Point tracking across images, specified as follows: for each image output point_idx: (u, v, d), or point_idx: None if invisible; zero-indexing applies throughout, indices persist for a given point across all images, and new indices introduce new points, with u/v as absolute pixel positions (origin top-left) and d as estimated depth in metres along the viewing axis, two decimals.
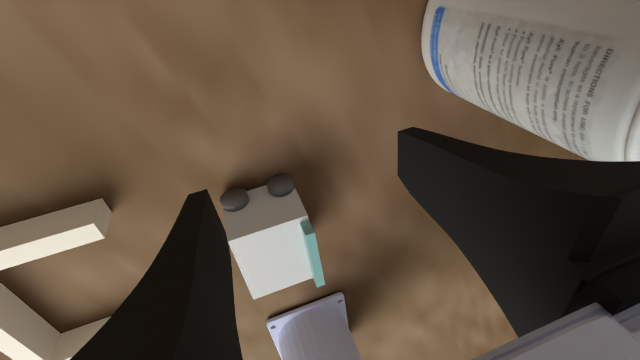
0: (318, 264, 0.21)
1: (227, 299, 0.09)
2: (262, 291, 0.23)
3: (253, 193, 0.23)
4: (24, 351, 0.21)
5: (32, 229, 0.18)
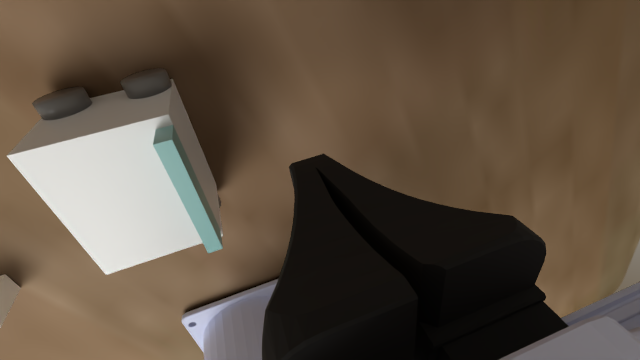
0: (199, 208, 0.12)
1: None
2: (119, 260, 0.14)
3: (103, 98, 0.14)
4: None
5: None
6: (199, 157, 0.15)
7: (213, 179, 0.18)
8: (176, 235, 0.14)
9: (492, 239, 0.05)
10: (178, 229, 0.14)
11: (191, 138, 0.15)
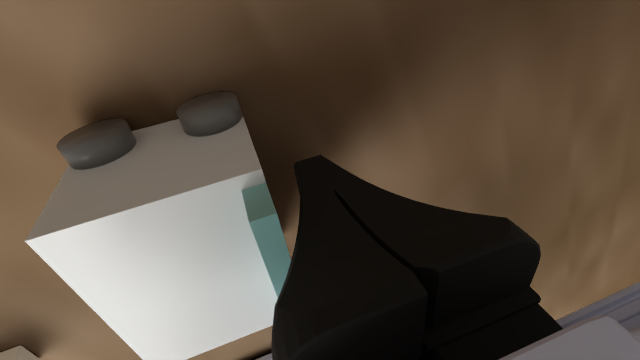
0: None
1: None
2: (173, 353, 0.10)
3: (150, 133, 0.10)
4: None
5: None
6: None
7: None
8: (248, 317, 0.10)
9: (485, 242, 0.05)
10: (252, 310, 0.10)
11: None
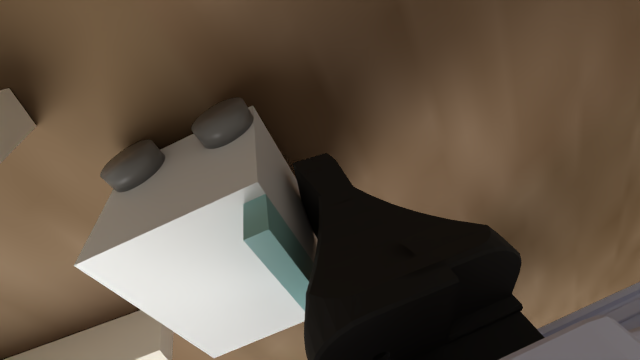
0: None
1: None
2: (225, 344, 0.11)
3: (177, 148, 0.11)
4: None
5: None
6: (299, 203, 0.12)
7: None
8: (286, 312, 0.11)
9: (463, 250, 0.05)
10: (287, 306, 0.11)
11: (287, 183, 0.11)
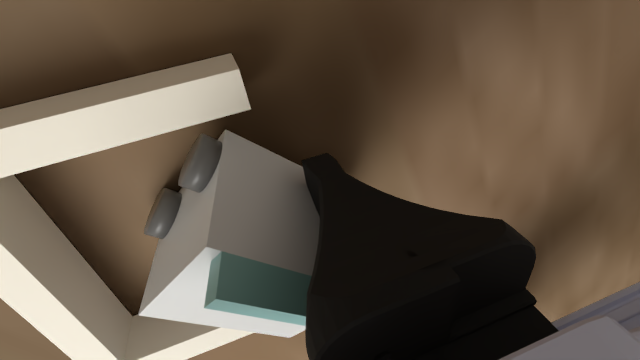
0: None
1: None
2: (291, 330, 0.13)
3: (187, 188, 0.12)
4: (86, 339, 0.12)
5: (119, 89, 0.09)
6: (306, 205, 0.11)
7: None
8: None
9: (480, 244, 0.05)
10: None
11: (282, 195, 0.11)
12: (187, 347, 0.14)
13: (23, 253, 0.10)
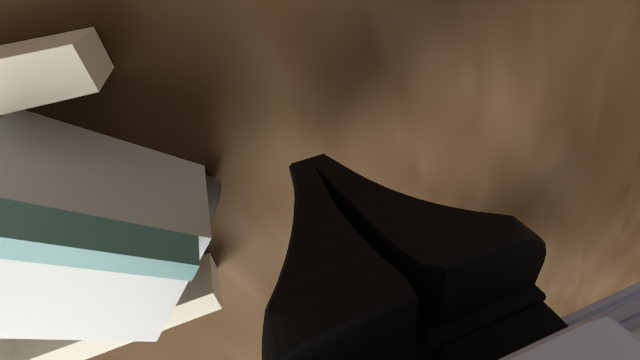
0: (99, 256, 0.08)
1: None
2: (148, 326, 0.11)
3: None
4: None
5: None
6: (121, 167, 0.10)
7: (192, 165, 0.13)
8: None
9: (491, 239, 0.05)
10: None
11: (84, 157, 0.10)
12: (79, 349, 0.13)
13: None
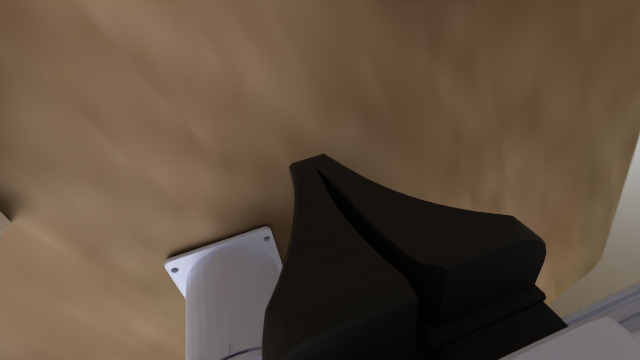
0: None
1: None
2: None
3: None
4: None
5: None
6: None
7: None
8: None
9: (492, 239, 0.05)
10: None
11: None
12: None
13: None
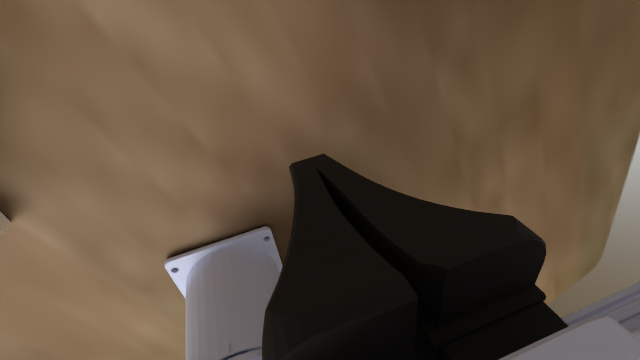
0: None
1: None
2: None
3: None
4: None
5: None
6: None
7: None
8: None
9: (492, 239, 0.05)
10: None
11: None
12: None
13: None
